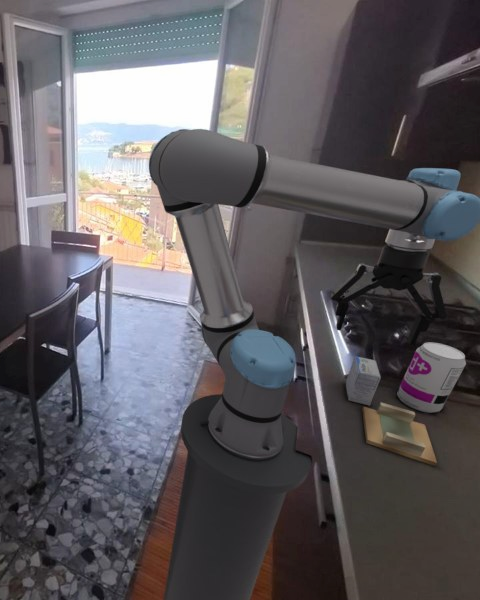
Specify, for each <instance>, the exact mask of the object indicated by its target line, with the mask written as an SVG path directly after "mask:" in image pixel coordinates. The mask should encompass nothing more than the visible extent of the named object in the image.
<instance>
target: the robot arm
mask: <svg viewBox="0 0 480 600" xmlns="http://www.w3.org/2000/svg"><path fill="white" fill-rule="evenodd" d="M148 173H149V176H150V178H151V181H152V182H153V184H154V185H155V186H156V188H157V189H158V190H157V191H158V194H159V197H160V199H161V203H162V206H163V209H164V212H165V213H166V214H168V215H171V216H173V217H174V218H175V222H176V225H177V228H178V231H179V234H180V238H181V240H182V244H183V247H184V250H185V253H186V256H187V260H188V263H189V267H190V269H191V273H192V276H193V279H194V283H195V285H196V289H197V292H198V296H199V298H200V301H201V304H202V308H203V309H202V310H201V312H200V313H199V321H200V324H201V325H200V330H201V336H202V340H203V342H204V344H205V346H207V347H208V349H209V350H210V352H211V354H212V356H213V357H214V359H215V361H216V362H217V364H218V366H219V367H220V369H221V371H222V373H223V375H224V382H223V383H224V384H223V387H222V393H221V394H222V397H221V398H220V400H219V401H218V403H217V404H216V405H215V407H214V408H213V410H212V411H211V413H210V415H209V418H208V420H207V421H200V423H201V426H203V425H207V427H208V432H209V434H210V436H211V438H212V439H213V440H214V442H215V443H216V444H217V445H218V446H219V447H221V448H222V449H223V450H225V451H226V452H228V453H230V454H232V455H234V456H236V457H238V458H241V459H244V460H249V461H259V462H260V461H268V460H271V459H273V458H275V457H276V456H278V455H279V453H280V452H281V449H282V446H283V439H284V436H283V433H284V431H283V427H282V423H281V413H282V412H283V409H284V406H285V403H286V400H287V397H288V393H289V390H290V387H291V383H292V381H293V378H294V376H295V371H296V363H297V357H296V353H295V350H294V348H293V347H292V346H291V345H290V344H289V342H288V341H286V340H285V339H284V338H282V337H281V336H279V335H274V333H272V332H270V331H266V330H262V329H259V327H258V323H257V319H256V315H255V312H254V308H253V305H252V304H251V303H250V302H249V301H248V300H246V299H244V298H243V295H242V291H241V287H240V283H239V280H238V279H239V278H238V276H237V272H236V267H235V264H234V259H233V256H232V252H231V248H230V244H229V241H228V237H227V233H226V229H225V225H224V221H223V218H222V214H221V210H220V206H228V207H234V208H239V209H243V208H247V207H248V206H249V205H251V204H254V205H260V206H264V207H270V208H274V209H275V208H276V209H281V210H286V211H292V212H296V213H303V214H308V215H312V216H319V217H324V218H329V219H335V220H341V221H345V222H351V223H356V224H362V225H367V226H372V227H379V228H384V229H388V233H387V234H386V238H385V241H384V242H385V243H386V244H385V245H383V246H382V249H381V251H380V254H379V258H378V260H377V263H376V264H375V265H374V266H373V265H368V264H365V263H364V262H359V263H358V265H357V267H356V269H355V270H354V272H353V273H351V274H350V275H349V276H348V277H347V278H346V279H345V280H344V281H343V282H342V283H340V284H339V286H337V287H336V288H335V289H334V290H333V291H332V292H331V293H330V297H331V298H330V299H331V300H332V301H334V302H337V303H336V304H337V305H336V308H335V311H334V314H335V316H336V317H337V321H336V325H335V327H336V328H335V329H336V331H341V330H342V327H343V325H344V322H345V319H346V316H347V313H348V310H349V307H350V306H349V302H351V301H353V300H355V299H357V298H358V297H360V296H362V295H365V294H366V293H368V292H370V291H372V290H375V289H377V288H378V287H381V288H382V289H386V290H389V289H392V290H396V291H400V292H402V291H404V290H407V291H408V293H409V294H410V296H411V297H412V299H413V300H414V301H415V303H416V304H417V306H418V307H419V309H420V310H421V312H422V314H421V313H418V314H417V316H416V318H415V320H414V322H413V325H412V327H411V329H410V332H409V335H408V337H407V339H406V340H407V342H408V344H409V346H415V345H416V342H417V340H418V338H419V336H420V334H421V332H422V333H426V332H427V331H428V329H429V328H430V325H431V324H432V322H434V321H435V320H436V319H441V320H445V319H447V317H448V315H447V311H446V307H445V302H444V298H443V294H442V291H441V287H440V285H441V280H442V276H441V275H440V274H439V273H438V271H431V272H424V269H425V266H426V265H427V261H428V259H429V256H430V254H431V252H430V251H429V250H431V249H433V247H434V244H435V241H441V242H453V241H457V240H460V239H462V238H464V237H466V236H468V235H469V234H470V233H471V232H473V231H474V230H475V229H476V228H477V227H478V225H479V223H480V197H478V196H477V195H475V194H473V193H468V192H464V191H461V190H458V187H459V184H460V179H461V172H460V171H459V170H456V169H452V168H437V167H420V168H412V170H410V171H409V174H408V175H407V177H406V179H400V180H399V179H395V178H389V177H384V176H379V175H374V174H368V173H364V172H358V171H353V170H350V169H349V170H348V169H345V168H338V167H333V166H329V165H323V164H320V163H319V164H317V163H313V162H308V161H303V160H298V159H293V158H288V157H284V156H283V157H282V156H278V155H273V154H269V152H268V149H267V148H266V146H264V145H259V144H253V143H250V142H247V141H243V140H239V139H236V138H234V137H230V136H227V135H224V134H222V133H219V132H216V131H212V130H209V129H206V128H205V129H204V128H193V129H186V128H181V129H178V130H175V131H171V132H169V133H168V134H166V135H165V136H163V137H162V138H160V139H159V141H158V142H156V144H155V145H154V147H153V149H152V151H151V153H150V156H149V160H148ZM219 205H220V206H219ZM369 273H372V274H373V277H371V278H369V279H368V280H367V281H365V282H363V283H361V284H360V285H358V286H356V287H355V288H353V289H351V290H349V289H350V288H352V287H353V286H354V285H355V284H356V283H357V282H358V281H359V280H360V279H361V278H362V277H363V276H367V275H368V274H369ZM422 280H424V281H425V283H426V284H427V285H428V287H429V291H430V296H431V299H432V303H433V308H434V310H430V307H429V306H428V305H427V303H426V302H425V300H424V299H423V298H422V296H421V294H420V293H419V292H418V290H417V289H416V287H415V284H417V283H419V282H420V281H422ZM347 291H348V292H347ZM282 414H283V413H282Z"/></svg>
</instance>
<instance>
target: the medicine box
mask: <svg viewBox="0 0 480 600" xmlns="http://www.w3.org/2000/svg"><path fill="white" fill-rule="evenodd" d="M381 378H382V376H381V373H380V370H379V367H378V363H377V361H376V360H374V359H370V358H367V357H361V356H360V357H359V356H354V358H353V361H352V363H351V366H350V368H349V371H348V374H347V377H346V380H345V388H346V389H345V390H346V394H347V400H348V401H350V402H353V403H357V404H361V405H364V406H368V407H370V406H371V404H372V401H373V399H374V397H375V393H376V392H377V388H378V386H379V383H380V381H381Z"/></svg>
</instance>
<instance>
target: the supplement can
mask: <svg viewBox="0 0 480 600" xmlns="http://www.w3.org/2000/svg"><path fill="white" fill-rule="evenodd" d="M466 366H467V361H466V355H465V354H464V353H463V352H462V351H461V350H459V349H457V348H455V347H452V346H451V345H447V344H444V343H439V342H432V341H431V342H430V341H428V342H424V343H423V344H422V345H421V346H419V347H417V348H416V350H415V352H414V354H413V357H412V358H411V361H410V363H409V365H408V367H407V369H406V372H405V374H404V376H403V378H402V380H401V382H400V384H399V387H398V389H397V391H396V393H397V394H396V396H397V397H398V399H399V400H400V401H401V402H402V403H403V404H404V405H405V406H408V407H409V408H411V409H413V410H416V411H418V412H423V413H428V414H430V413H431V414H432V413H438V412H440V411H442V409H443V408H444V407H445V404H446V402H447V400H448V398H449V396H450V395H451V393H452V391H453V390H454V388H455V385H456V384H457V382H458V380H459V379H460V376H461V374H462V373H463V370H464V369H465V367H466Z"/></svg>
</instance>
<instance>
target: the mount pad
mask: <svg viewBox="0 0 480 600" xmlns="http://www.w3.org/2000/svg"><path fill="white" fill-rule="evenodd" d="M361 411H362V419H363V428H364V434H365V435H364V436H365V443H366V444H368V445H371V446H373V447H377V448H380V449H383V450H386V451H388V452H392V453H394V454H398V455H400V456H403V457H407V458H409V459H412V460H415V461H419V462H421V463H424V464H426V465H429V466H433V467H436V466H437V464H438V461H437V457H436V455H435V452H434V448H433V446H432V445H433V444H432V442H431V439H430V437H429V436H430V435H429V434H428V430H427V427H426V424H423V423H421V422H418V421H414V419H415V417H416V412H415V411H413V410H409V409H406V408H402V407H399V406H396V405H391V404H388V403H385V402H380V403H379V404H378V407H377V409H373V408H369V407H366V406H363V407H362V409H361Z"/></svg>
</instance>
